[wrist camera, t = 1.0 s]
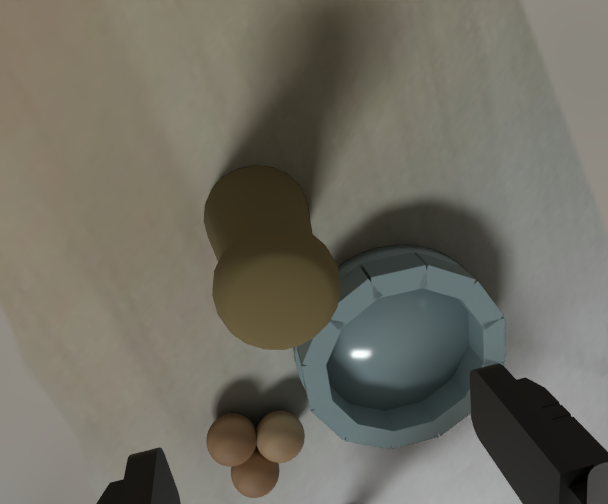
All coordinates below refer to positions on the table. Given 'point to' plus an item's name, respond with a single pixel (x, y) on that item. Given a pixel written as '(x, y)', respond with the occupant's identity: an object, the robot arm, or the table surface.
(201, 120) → the table surface
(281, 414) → the bead pile
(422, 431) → the dish
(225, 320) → the cork
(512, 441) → the robot arm
